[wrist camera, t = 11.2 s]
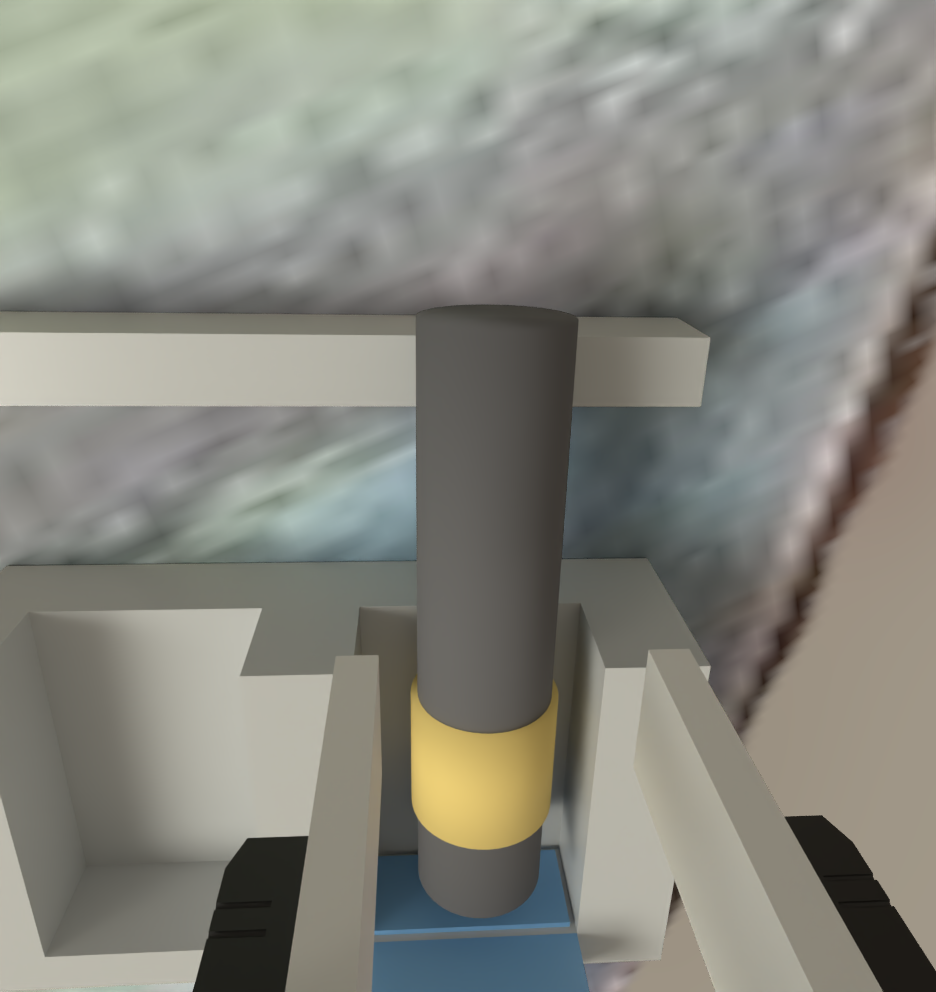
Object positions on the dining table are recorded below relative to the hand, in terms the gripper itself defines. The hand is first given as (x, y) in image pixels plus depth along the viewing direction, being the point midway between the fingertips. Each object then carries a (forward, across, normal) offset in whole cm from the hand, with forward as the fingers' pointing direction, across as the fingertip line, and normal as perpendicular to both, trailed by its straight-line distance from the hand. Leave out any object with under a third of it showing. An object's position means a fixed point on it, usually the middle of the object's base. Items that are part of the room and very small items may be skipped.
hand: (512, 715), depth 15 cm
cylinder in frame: (+13, -4, -6) cm, 15 cm away
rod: (+10, 0, -3) cm, 10 cm away
